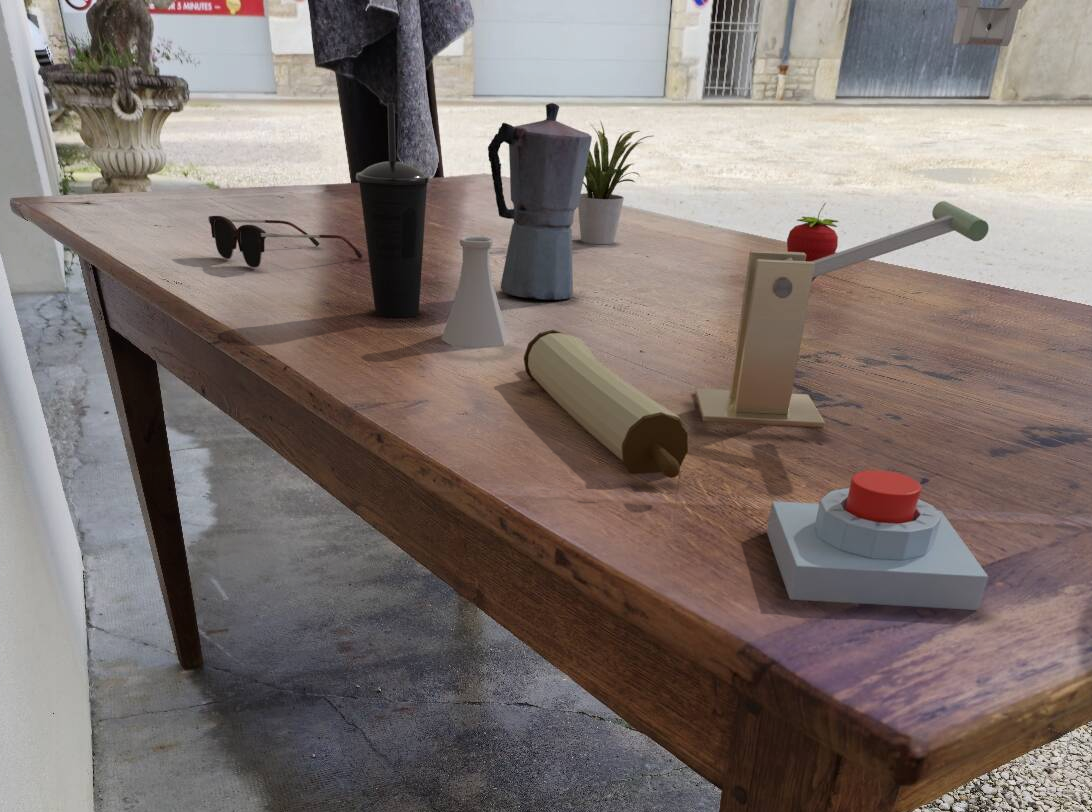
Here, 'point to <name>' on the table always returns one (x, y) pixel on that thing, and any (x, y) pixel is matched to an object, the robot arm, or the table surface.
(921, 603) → the control block
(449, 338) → the flask
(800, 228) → the strawberry
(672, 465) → the rolling pin
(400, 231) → the drinking cup
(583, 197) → the house plant
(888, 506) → the button
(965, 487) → the table surface
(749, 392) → the bracket
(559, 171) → the moka pot
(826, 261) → the lever
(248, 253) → the sunglasses
